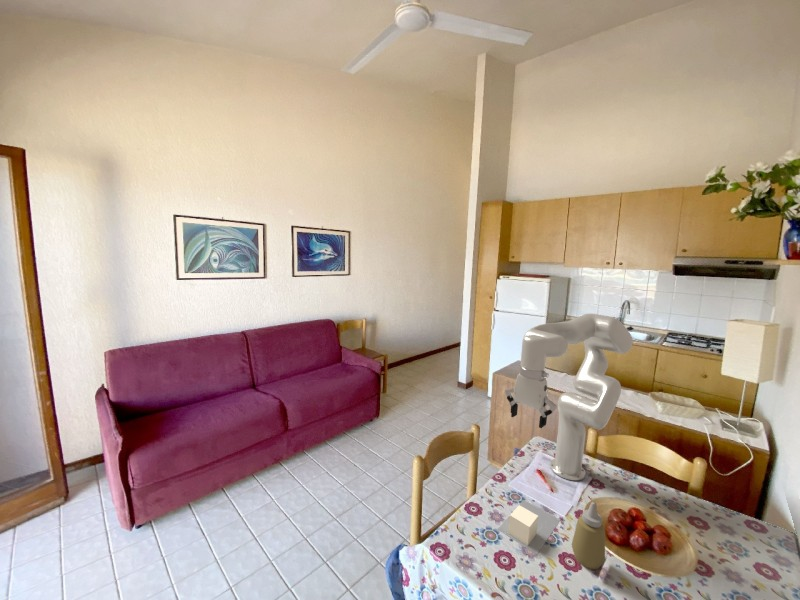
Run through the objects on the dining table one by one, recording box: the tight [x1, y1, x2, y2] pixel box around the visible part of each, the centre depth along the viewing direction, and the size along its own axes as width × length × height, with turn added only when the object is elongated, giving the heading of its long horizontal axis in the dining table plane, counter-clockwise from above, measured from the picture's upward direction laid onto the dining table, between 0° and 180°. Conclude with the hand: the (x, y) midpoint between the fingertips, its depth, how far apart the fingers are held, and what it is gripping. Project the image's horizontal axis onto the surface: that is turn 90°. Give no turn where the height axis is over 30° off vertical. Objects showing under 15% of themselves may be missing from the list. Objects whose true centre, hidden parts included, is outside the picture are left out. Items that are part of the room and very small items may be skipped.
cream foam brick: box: [508, 504, 538, 546], centre depth 102 cm, size 6×6×6 cm
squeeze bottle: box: [571, 501, 606, 570], centre depth 93 cm, size 8×8×18 cm
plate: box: [497, 499, 561, 555], centre depth 106 cm, size 18×12×1 cm, turn 135°
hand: (527, 421), depth 115 cm, fingers open, 9 cm apart
